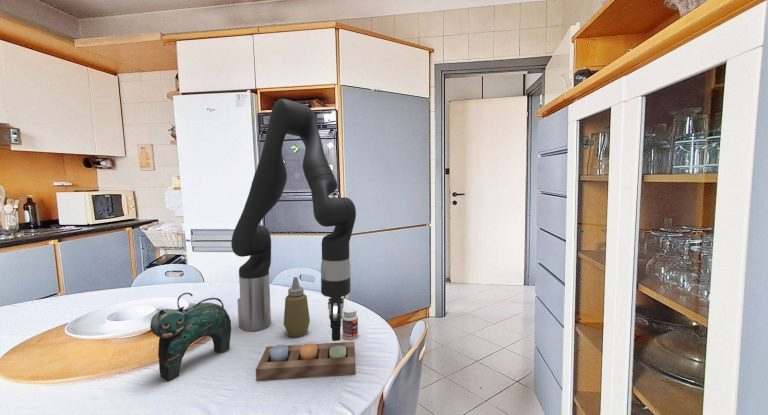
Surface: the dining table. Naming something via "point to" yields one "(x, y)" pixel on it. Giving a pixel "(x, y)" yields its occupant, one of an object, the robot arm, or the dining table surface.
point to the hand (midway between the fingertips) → (336, 339)
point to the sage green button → (337, 352)
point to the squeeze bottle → (296, 311)
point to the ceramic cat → (188, 332)
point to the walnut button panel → (307, 363)
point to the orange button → (308, 351)
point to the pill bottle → (350, 323)
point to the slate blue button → (279, 353)
